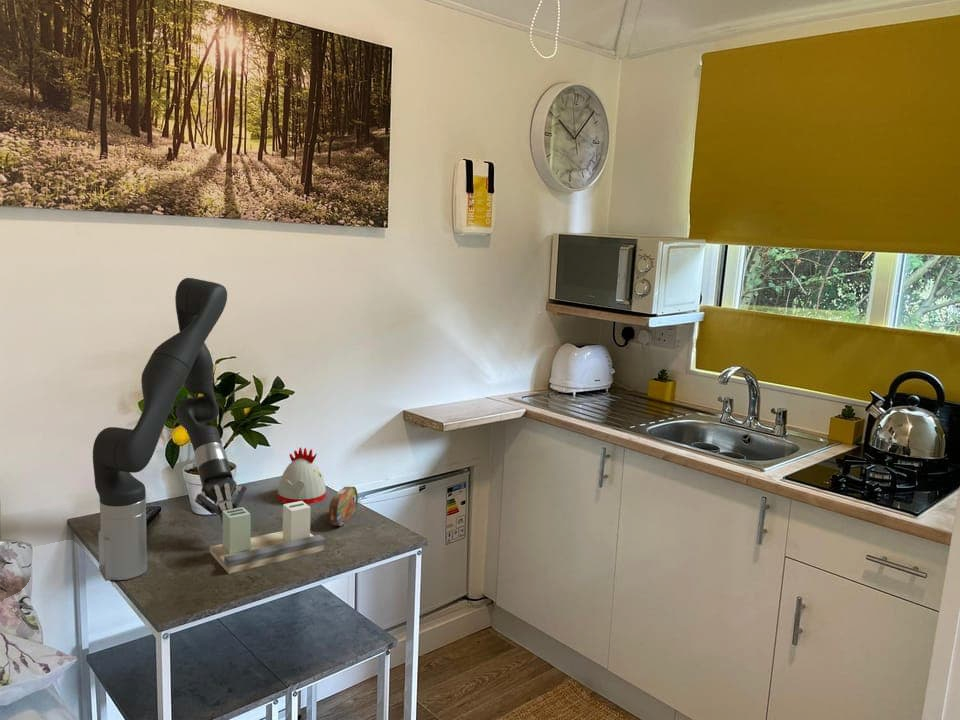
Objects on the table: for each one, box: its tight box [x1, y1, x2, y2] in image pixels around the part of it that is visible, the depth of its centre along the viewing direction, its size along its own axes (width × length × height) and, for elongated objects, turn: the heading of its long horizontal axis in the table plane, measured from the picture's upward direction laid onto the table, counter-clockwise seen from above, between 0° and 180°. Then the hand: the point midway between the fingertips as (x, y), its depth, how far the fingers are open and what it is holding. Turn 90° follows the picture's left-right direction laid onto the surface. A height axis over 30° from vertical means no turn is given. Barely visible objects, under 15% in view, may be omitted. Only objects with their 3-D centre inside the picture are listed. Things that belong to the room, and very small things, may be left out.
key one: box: [282, 501, 311, 542], centre depth 181 cm, size 5×5×9 cm
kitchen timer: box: [277, 446, 327, 505], centre depth 215 cm, size 14×14×15 cm
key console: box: [209, 530, 326, 575], centre depth 178 cm, size 24×13×3 cm, turn 128°
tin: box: [328, 486, 359, 527], centre depth 200 cm, size 15×3×8 cm, turn 168°
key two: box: [222, 506, 252, 554], centre depth 175 cm, size 5×5×9 cm
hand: (229, 526), depth 179 cm, fingers closed
